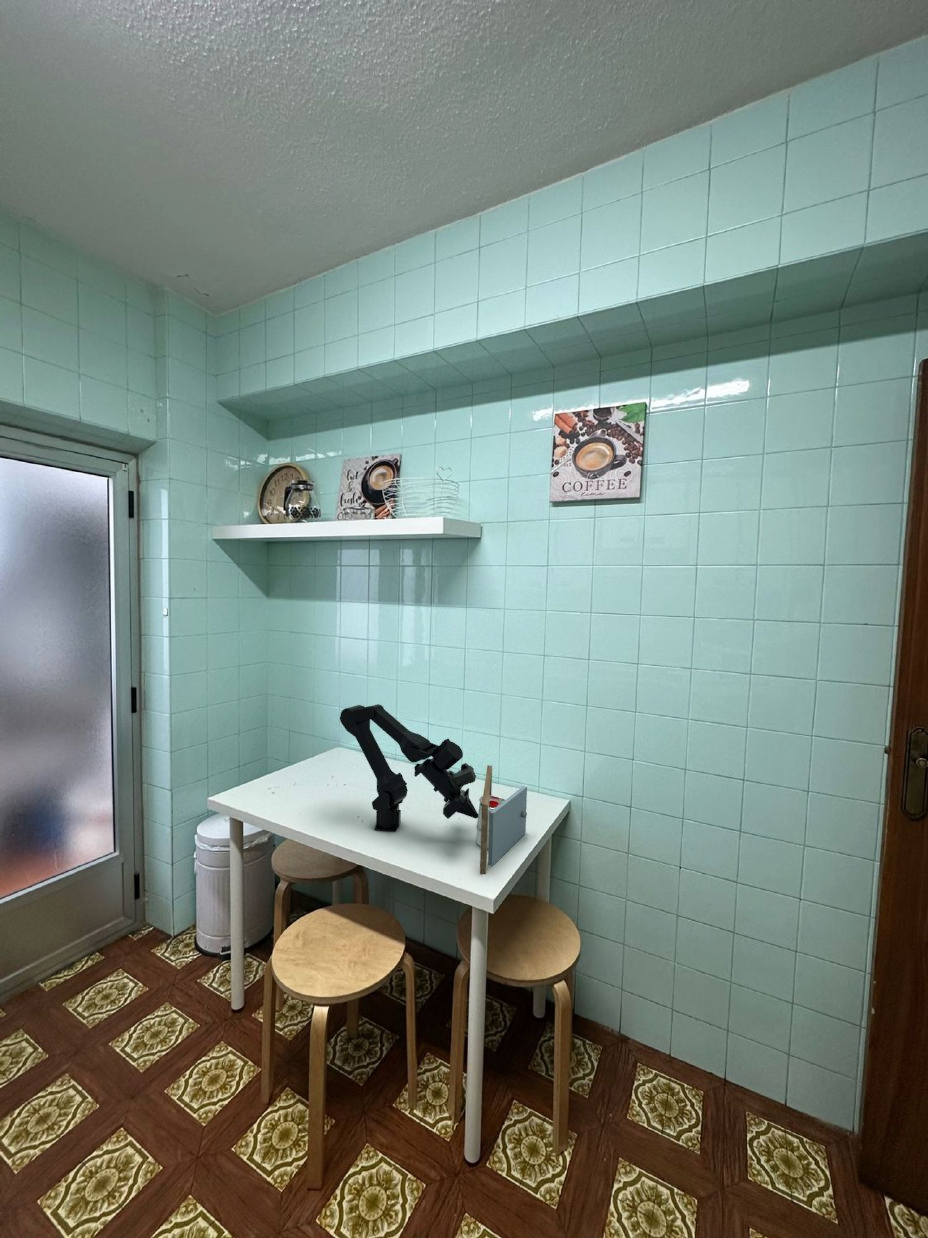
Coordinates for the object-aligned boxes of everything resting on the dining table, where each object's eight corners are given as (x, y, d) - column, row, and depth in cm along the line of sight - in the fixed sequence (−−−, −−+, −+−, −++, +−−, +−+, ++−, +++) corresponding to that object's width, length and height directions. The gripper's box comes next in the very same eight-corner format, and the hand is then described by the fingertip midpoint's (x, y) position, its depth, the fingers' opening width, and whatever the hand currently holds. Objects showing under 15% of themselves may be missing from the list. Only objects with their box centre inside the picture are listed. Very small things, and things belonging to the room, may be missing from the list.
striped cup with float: (489, 831, 150) (495, 792, 149) (510, 845, 144) (516, 804, 143) (464, 839, 143) (471, 799, 143) (486, 854, 137) (492, 812, 136)
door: (487, 864, 132) (489, 812, 131) (521, 832, 151) (523, 786, 150) (496, 867, 131) (497, 814, 130) (529, 834, 149) (530, 788, 149)
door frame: (479, 874, 128) (481, 804, 127) (485, 822, 157) (487, 765, 156) (485, 874, 128) (487, 804, 127) (490, 822, 157) (492, 765, 156)
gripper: (455, 769, 134) (496, 812, 134) (462, 748, 153) (498, 786, 152) (425, 797, 135) (466, 840, 135) (436, 773, 154) (472, 810, 153)
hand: (477, 817), depth 144 cm, fingers closed, pressing on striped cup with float
